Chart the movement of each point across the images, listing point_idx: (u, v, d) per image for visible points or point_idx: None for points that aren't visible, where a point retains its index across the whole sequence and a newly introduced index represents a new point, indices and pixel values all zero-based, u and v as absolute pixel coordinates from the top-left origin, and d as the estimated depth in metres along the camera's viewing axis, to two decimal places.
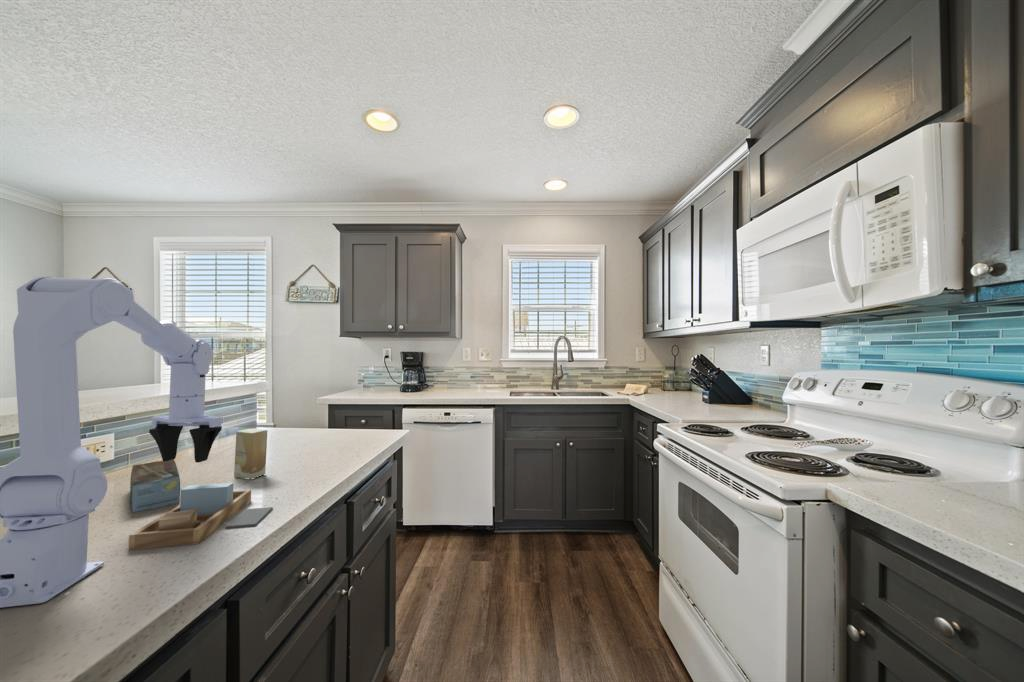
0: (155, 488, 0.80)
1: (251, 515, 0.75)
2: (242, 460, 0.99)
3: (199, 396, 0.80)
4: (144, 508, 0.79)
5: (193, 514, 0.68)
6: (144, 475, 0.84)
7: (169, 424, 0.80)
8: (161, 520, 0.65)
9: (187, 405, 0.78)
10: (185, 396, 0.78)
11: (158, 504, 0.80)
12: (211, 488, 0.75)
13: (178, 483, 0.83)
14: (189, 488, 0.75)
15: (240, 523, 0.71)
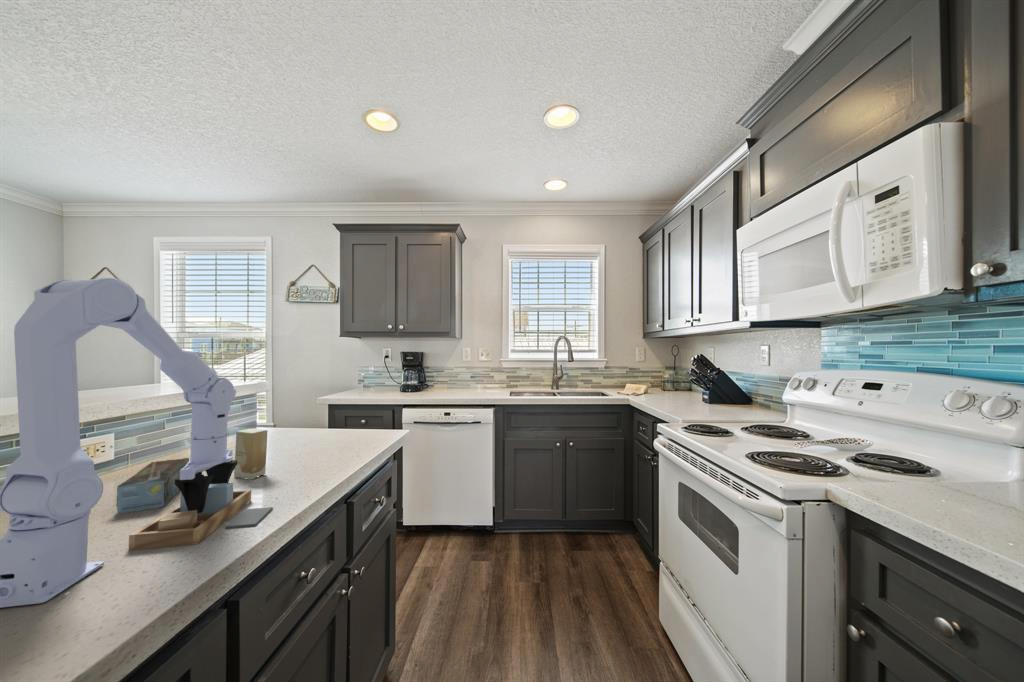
0: (139, 491, 0.79)
1: (251, 515, 0.75)
2: (242, 460, 0.99)
3: (200, 440, 0.74)
4: (129, 510, 0.78)
5: (192, 515, 0.68)
6: (142, 475, 0.84)
7: None
8: (161, 521, 0.65)
9: (191, 448, 0.74)
10: (191, 438, 0.74)
11: (143, 507, 0.79)
12: (211, 488, 0.75)
13: (162, 487, 0.80)
14: None
15: (240, 523, 0.71)
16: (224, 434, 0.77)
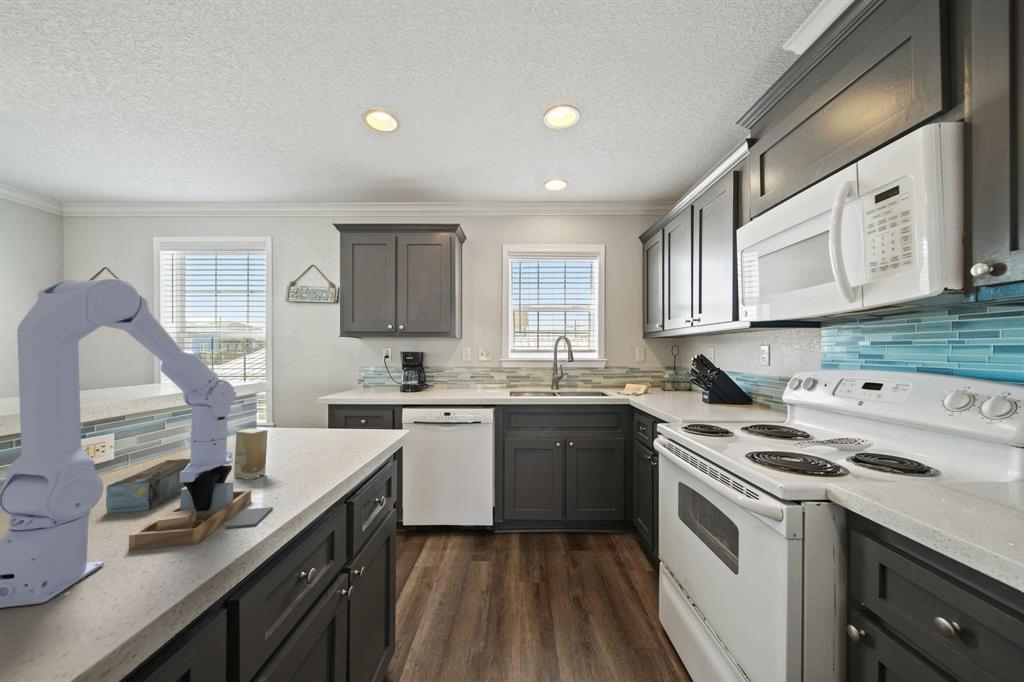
0: (126, 492, 0.78)
1: (251, 515, 0.75)
2: (242, 460, 0.99)
3: (200, 442, 0.73)
4: (117, 511, 0.77)
5: (191, 514, 0.68)
6: (141, 474, 0.84)
7: None
8: (159, 520, 0.65)
9: (191, 450, 0.74)
10: (191, 440, 0.74)
11: (129, 509, 0.78)
12: None
13: (147, 489, 0.79)
14: None
15: (240, 523, 0.71)
16: (224, 436, 0.77)
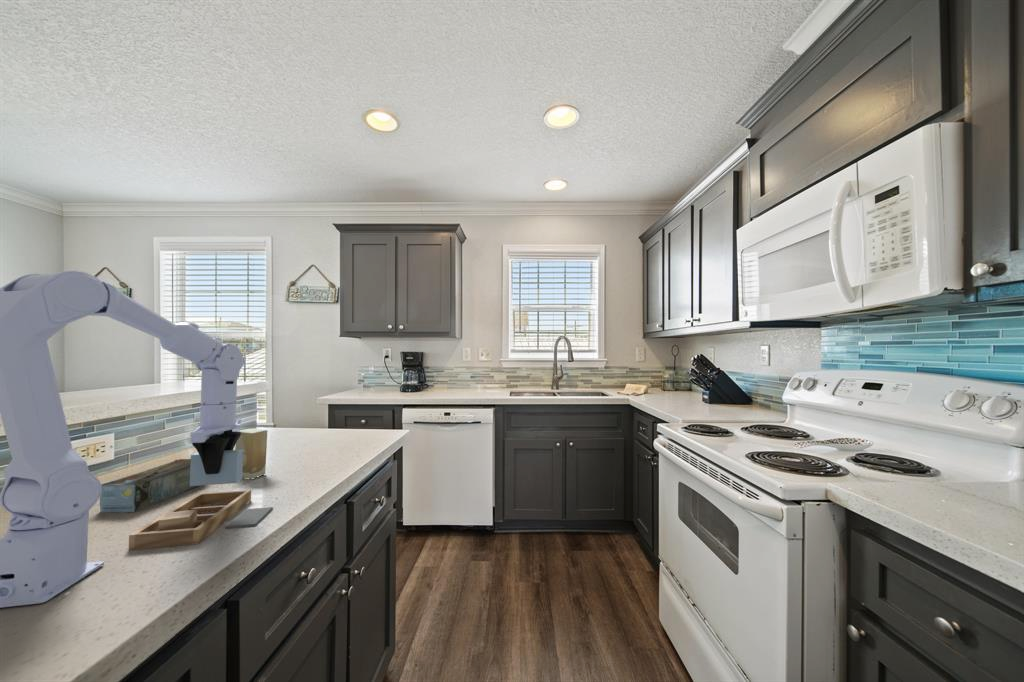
0: (115, 492, 0.78)
1: (251, 515, 0.75)
2: None
3: (210, 405, 0.74)
4: (108, 510, 0.78)
5: (192, 514, 0.68)
6: (141, 474, 0.85)
7: None
8: (161, 520, 0.65)
9: (201, 413, 0.74)
10: (201, 403, 0.74)
11: (118, 509, 0.78)
12: None
13: (133, 491, 0.78)
14: None
15: (240, 523, 0.71)
16: (233, 401, 0.76)
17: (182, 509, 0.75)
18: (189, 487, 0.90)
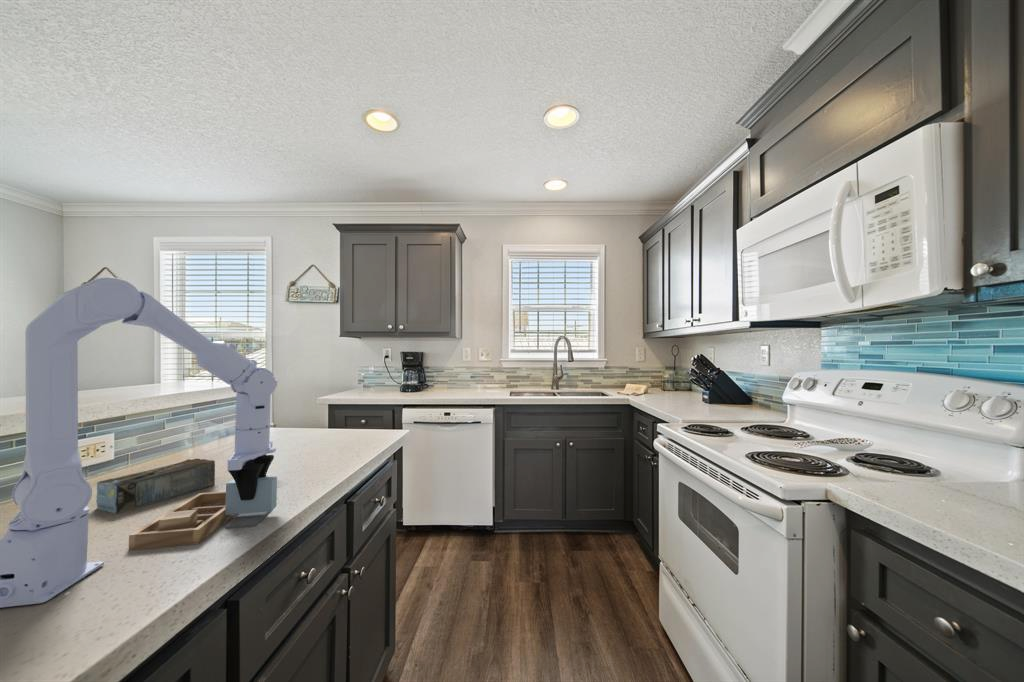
0: (105, 491, 0.78)
1: (251, 515, 0.75)
2: None
3: (245, 431, 0.73)
4: (101, 508, 0.79)
5: (193, 514, 0.68)
6: (142, 473, 0.85)
7: None
8: (161, 520, 0.65)
9: (236, 439, 0.73)
10: (236, 429, 0.73)
11: (106, 509, 0.78)
12: None
13: (115, 493, 0.77)
14: (234, 482, 0.74)
15: (240, 523, 0.71)
16: (263, 426, 0.75)
17: (182, 509, 0.75)
18: (189, 489, 0.89)
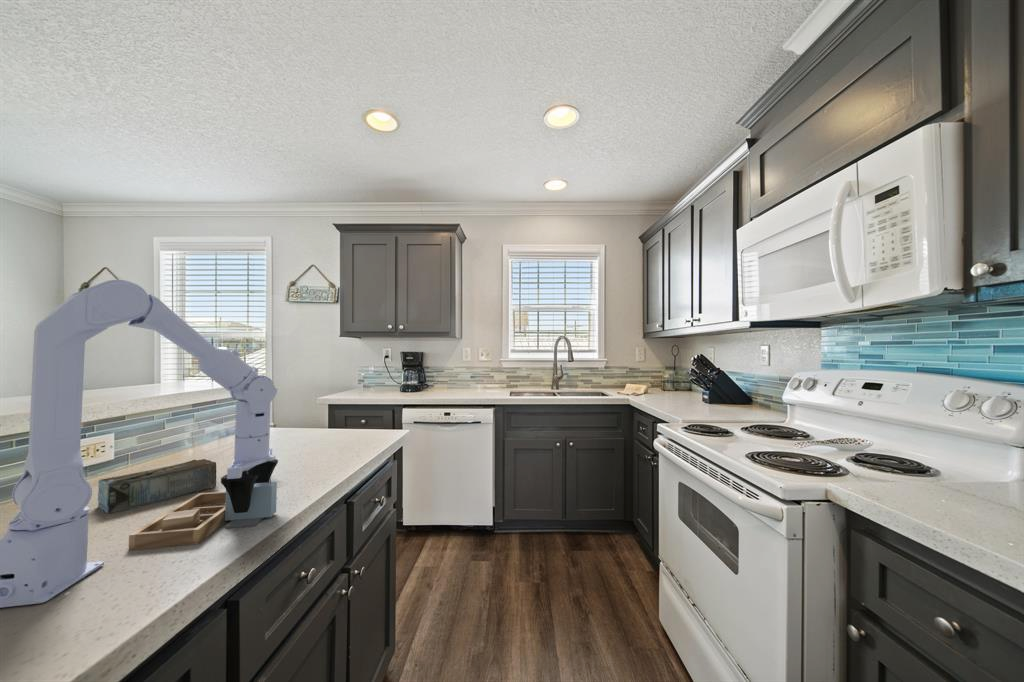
0: (102, 490, 0.79)
1: None
2: None
3: (245, 438, 0.73)
4: (100, 506, 0.80)
5: (196, 513, 0.68)
6: (144, 472, 0.85)
7: None
8: (164, 520, 0.65)
9: (236, 446, 0.73)
10: (235, 436, 0.73)
11: (103, 507, 0.78)
12: (256, 487, 0.74)
13: (107, 492, 0.77)
14: None
15: (240, 523, 0.71)
16: (263, 434, 0.75)
17: (182, 509, 0.75)
18: (187, 491, 0.87)
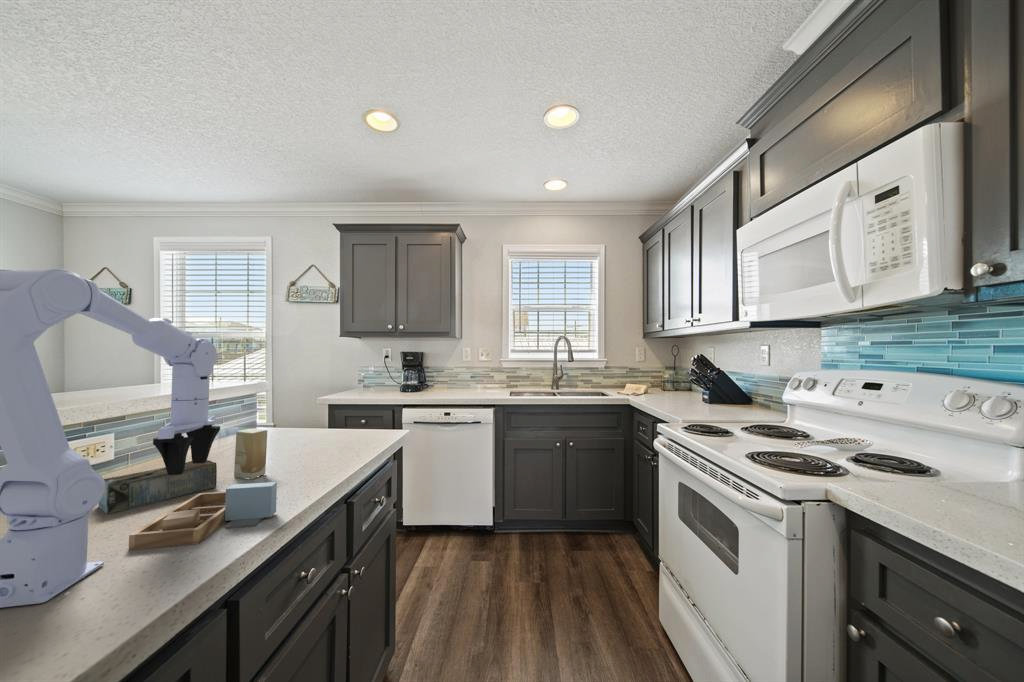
0: None
1: None
2: (242, 460, 0.99)
3: (180, 401, 0.72)
4: (100, 506, 0.80)
5: (196, 514, 0.68)
6: (144, 473, 0.85)
7: None
8: (165, 520, 0.65)
9: (171, 409, 0.72)
10: (171, 399, 0.73)
11: (103, 508, 0.78)
12: (256, 487, 0.74)
13: (106, 493, 0.77)
14: (234, 487, 0.74)
15: (240, 523, 0.71)
16: (206, 396, 0.76)
17: (182, 509, 0.75)
18: (187, 492, 0.87)
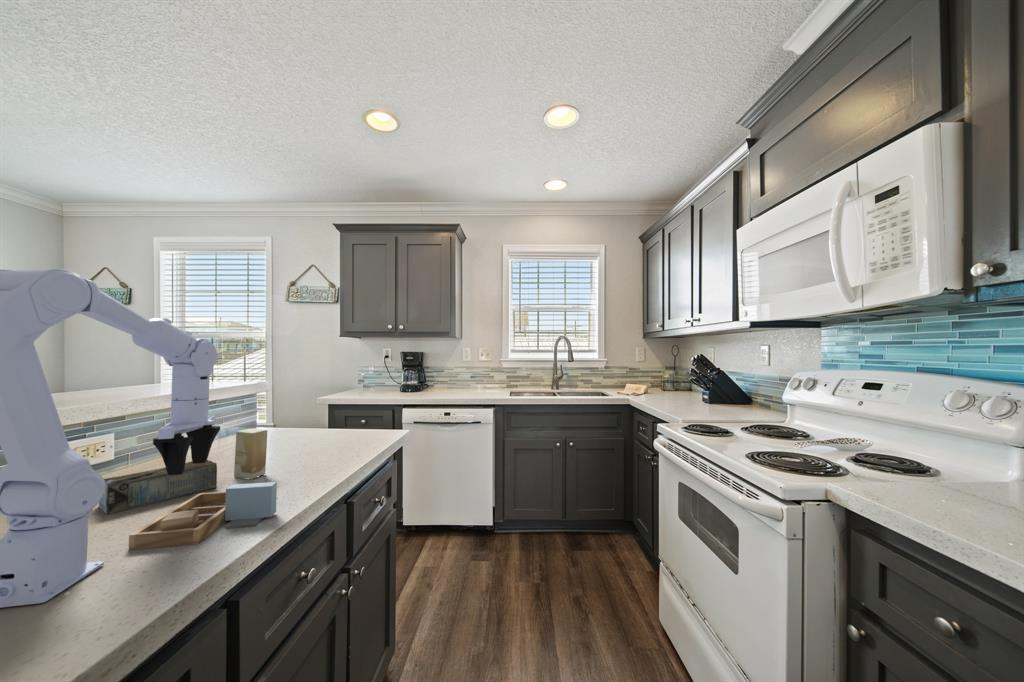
0: None
1: None
2: (242, 460, 0.99)
3: (180, 401, 0.72)
4: (100, 506, 0.80)
5: (195, 514, 0.68)
6: (144, 473, 0.85)
7: None
8: (163, 520, 0.65)
9: (171, 409, 0.72)
10: (171, 399, 0.73)
11: (102, 508, 0.78)
12: (256, 487, 0.74)
13: (106, 493, 0.77)
14: (234, 487, 0.74)
15: (240, 523, 0.71)
16: (206, 396, 0.76)
17: (182, 509, 0.75)
18: (187, 492, 0.87)
